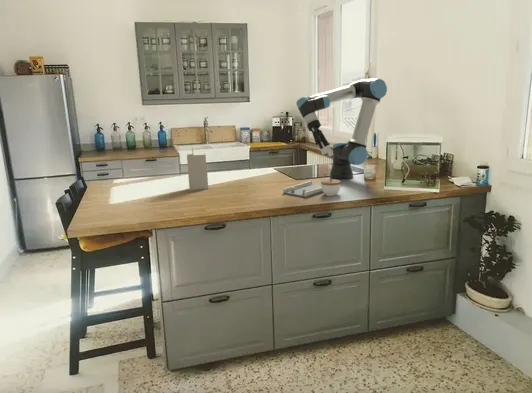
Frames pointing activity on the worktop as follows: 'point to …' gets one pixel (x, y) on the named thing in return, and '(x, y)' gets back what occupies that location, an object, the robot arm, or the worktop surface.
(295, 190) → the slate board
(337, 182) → the lidded jar
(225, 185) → the worktop surface
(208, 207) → the worktop surface
